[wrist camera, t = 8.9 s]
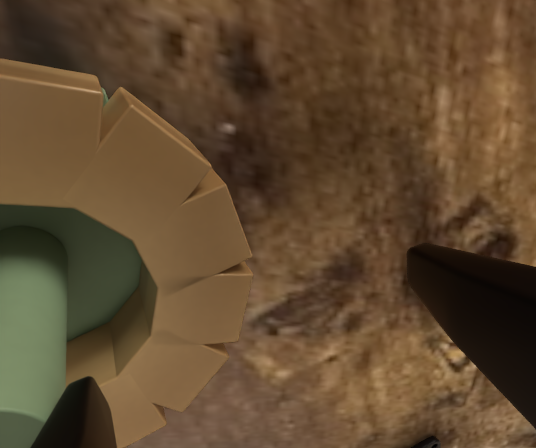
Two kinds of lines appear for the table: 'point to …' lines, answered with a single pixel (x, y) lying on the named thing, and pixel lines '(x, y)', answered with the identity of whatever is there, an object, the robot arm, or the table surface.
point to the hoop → (132, 235)
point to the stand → (52, 304)
